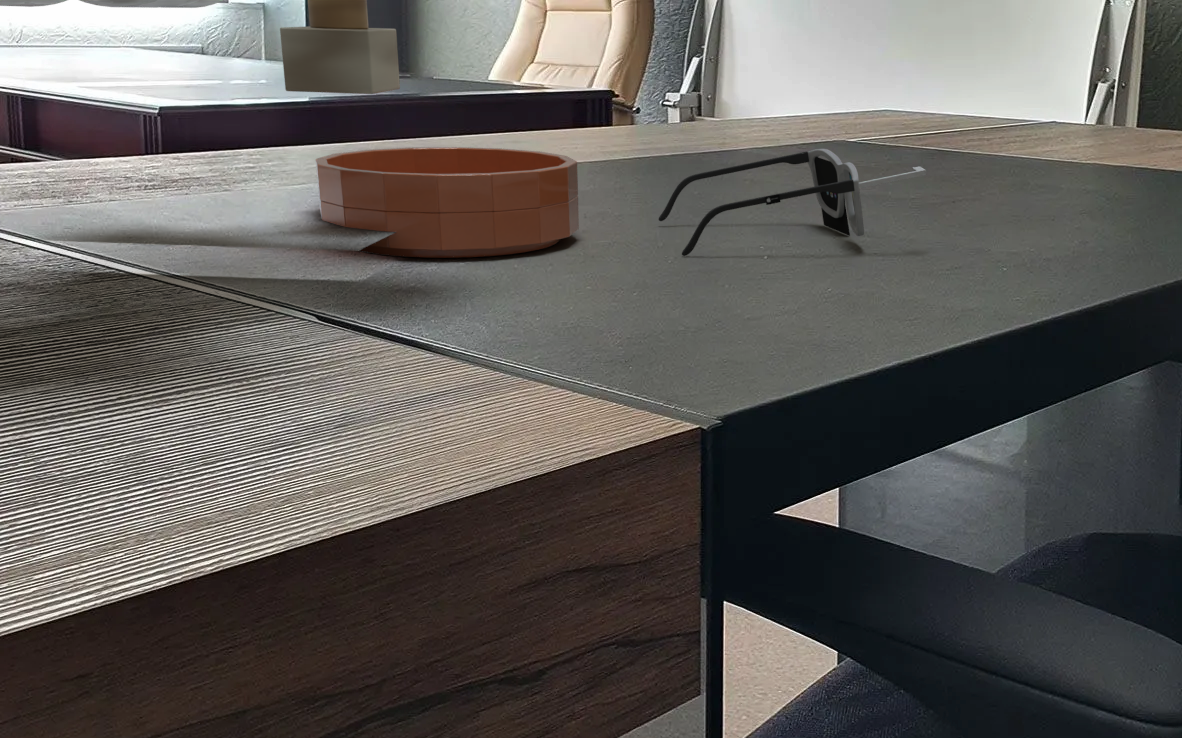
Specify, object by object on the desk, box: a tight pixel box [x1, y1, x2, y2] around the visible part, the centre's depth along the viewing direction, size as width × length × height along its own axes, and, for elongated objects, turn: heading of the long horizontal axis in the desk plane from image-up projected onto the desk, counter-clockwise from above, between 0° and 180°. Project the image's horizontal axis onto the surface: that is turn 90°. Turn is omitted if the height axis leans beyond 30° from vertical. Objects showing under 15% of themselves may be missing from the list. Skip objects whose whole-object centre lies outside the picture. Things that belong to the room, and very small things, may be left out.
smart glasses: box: [658, 148, 927, 257], centre depth 83 cm, size 12×14×5 cm
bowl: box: [314, 146, 580, 259], centre depth 79 cm, size 14×14×4 cm
